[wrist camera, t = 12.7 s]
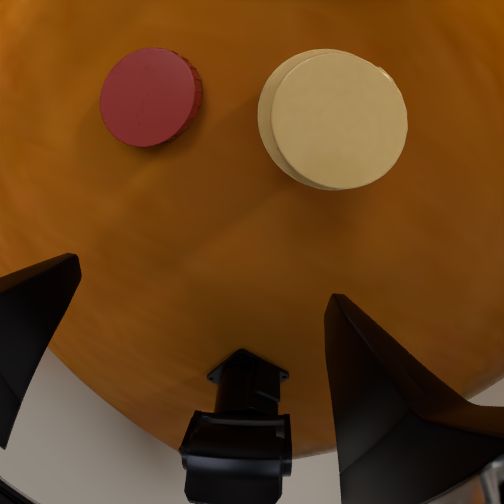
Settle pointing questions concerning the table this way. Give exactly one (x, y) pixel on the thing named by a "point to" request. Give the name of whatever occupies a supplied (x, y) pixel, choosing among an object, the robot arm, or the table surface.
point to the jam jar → (332, 119)
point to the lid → (150, 97)
